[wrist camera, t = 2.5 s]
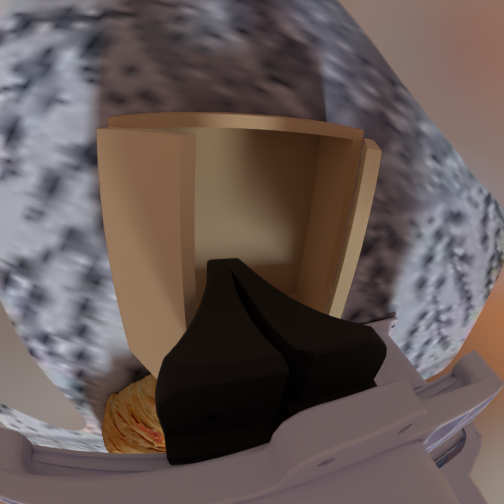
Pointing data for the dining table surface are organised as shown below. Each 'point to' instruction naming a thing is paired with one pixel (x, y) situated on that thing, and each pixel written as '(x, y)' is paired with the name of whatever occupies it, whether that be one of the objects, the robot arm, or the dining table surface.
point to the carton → (268, 194)
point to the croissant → (133, 420)
